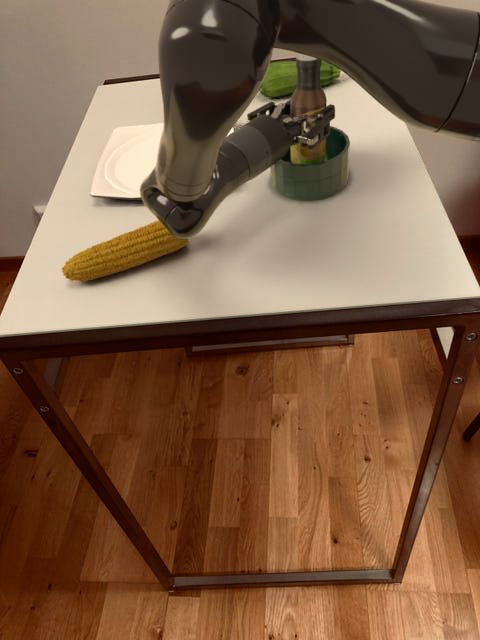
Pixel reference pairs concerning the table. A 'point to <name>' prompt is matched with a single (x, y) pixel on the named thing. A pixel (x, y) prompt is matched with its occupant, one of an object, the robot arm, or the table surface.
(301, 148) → the sauce bottle
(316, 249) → the table surface
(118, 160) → the plate
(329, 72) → the vegetable
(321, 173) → the pot
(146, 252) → the food
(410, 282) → the table surface
